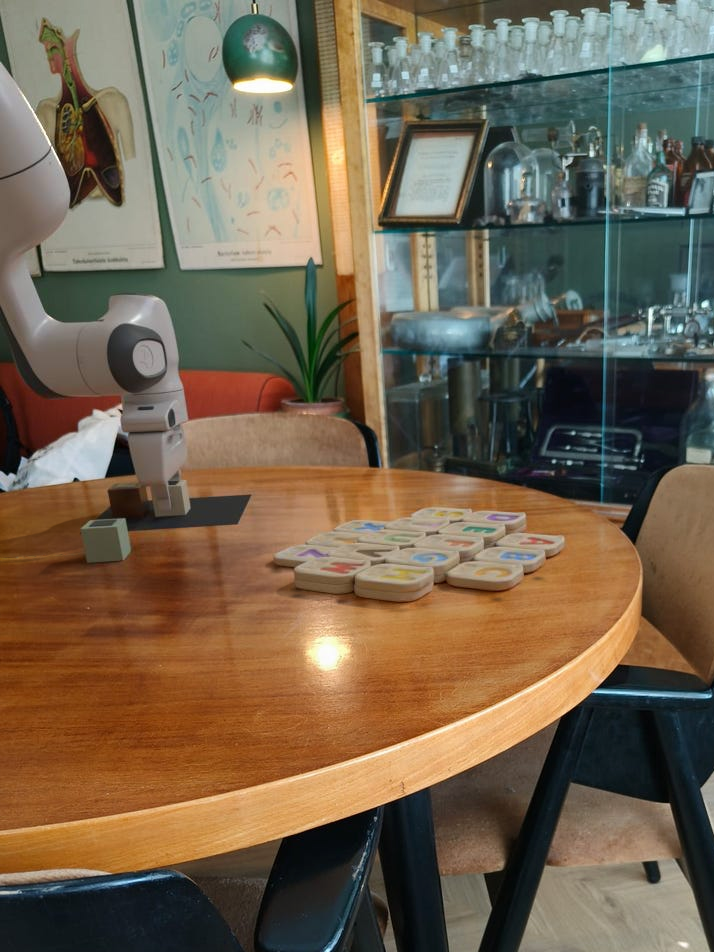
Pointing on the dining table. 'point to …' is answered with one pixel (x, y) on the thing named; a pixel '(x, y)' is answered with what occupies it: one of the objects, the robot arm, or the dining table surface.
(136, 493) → the dark chocolate cube
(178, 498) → the beige hollow cube
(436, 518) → the alphabet tiles
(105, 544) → the olive open-top cube
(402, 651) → the dining table surface
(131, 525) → the word mat
